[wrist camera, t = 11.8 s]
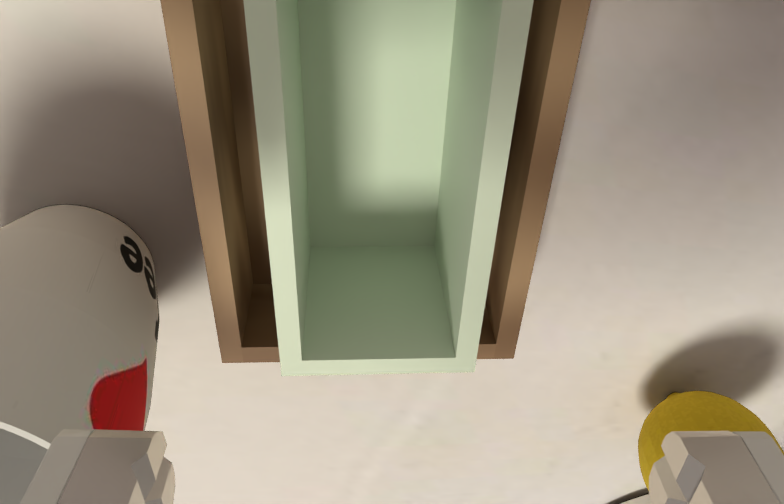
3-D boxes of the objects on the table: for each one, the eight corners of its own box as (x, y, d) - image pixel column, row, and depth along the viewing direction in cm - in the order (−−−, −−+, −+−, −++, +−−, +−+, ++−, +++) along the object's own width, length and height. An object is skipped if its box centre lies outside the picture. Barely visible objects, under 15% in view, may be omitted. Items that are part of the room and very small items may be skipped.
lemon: (709, 431, 32) (801, 596, 25) (601, 433, 31) (667, 601, 25) (751, 353, 28) (870, 519, 22) (632, 353, 28) (717, 523, 22)
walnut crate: (491, 285, 25) (513, 358, 22) (238, 286, 24) (222, 362, 21) (573, -188, 16) (630, -181, 13) (172, -207, 15) (125, -204, 12)
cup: (166, 362, 27) (88, 612, 19) (-48, 307, 24) (-243, 566, 16) (222, 213, 22) (153, 453, 14) (-30, 128, 20) (-282, 358, 12)
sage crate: (447, 249, 23) (474, 372, 18) (295, 250, 23) (281, 375, 18) (483, -92, 17) (540, -41, 12) (270, -98, 16) (239, -48, 11)
